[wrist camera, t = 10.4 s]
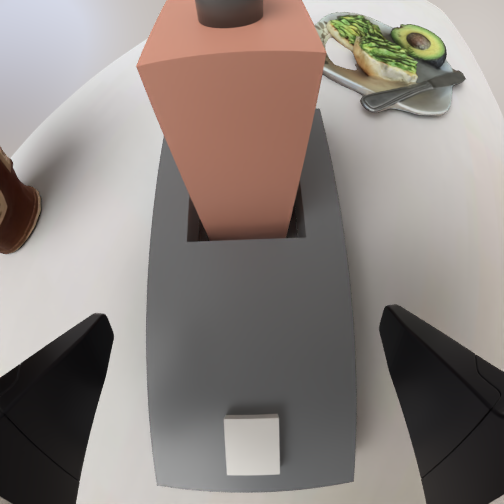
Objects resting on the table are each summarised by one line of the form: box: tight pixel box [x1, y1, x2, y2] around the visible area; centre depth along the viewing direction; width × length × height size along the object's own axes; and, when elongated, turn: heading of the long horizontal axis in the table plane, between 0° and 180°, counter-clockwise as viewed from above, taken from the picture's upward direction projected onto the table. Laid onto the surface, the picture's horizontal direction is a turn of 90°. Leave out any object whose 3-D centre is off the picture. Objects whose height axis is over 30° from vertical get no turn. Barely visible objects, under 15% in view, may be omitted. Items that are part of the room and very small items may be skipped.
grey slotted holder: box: [146, 109, 356, 492], centre depth 15 cm, size 22×10×4 cm, turn 2°
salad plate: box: [314, 12, 466, 116], centre depth 21 cm, size 19×18×5 cm
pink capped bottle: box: [136, 0, 326, 241], centre depth 12 cm, size 4×4×14 cm
